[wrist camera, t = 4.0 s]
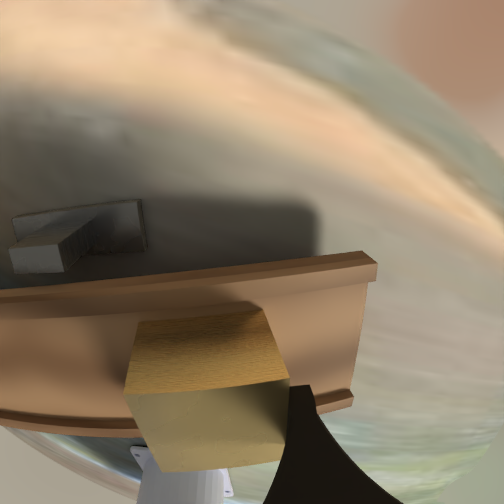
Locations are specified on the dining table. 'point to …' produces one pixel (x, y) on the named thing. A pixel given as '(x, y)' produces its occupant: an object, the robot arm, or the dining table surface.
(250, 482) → the dining table surface
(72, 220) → the stand
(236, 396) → the block
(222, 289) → the beam
